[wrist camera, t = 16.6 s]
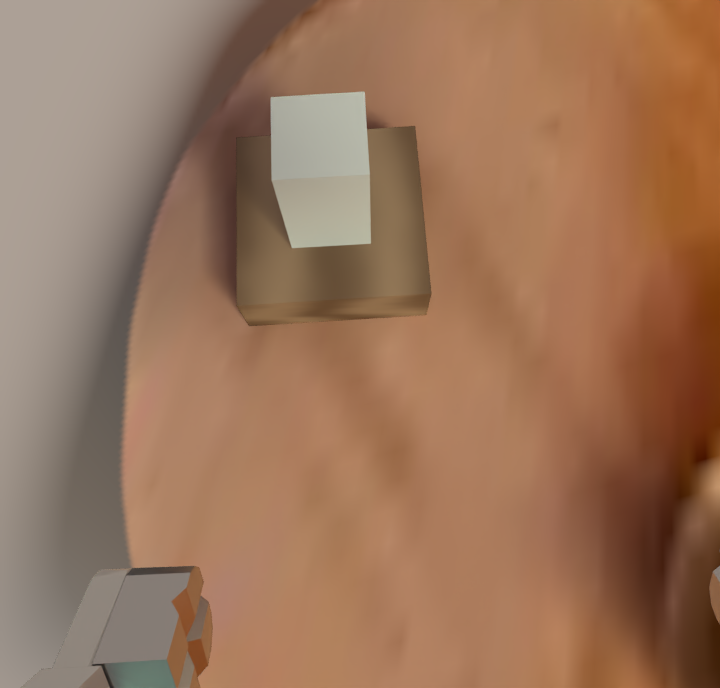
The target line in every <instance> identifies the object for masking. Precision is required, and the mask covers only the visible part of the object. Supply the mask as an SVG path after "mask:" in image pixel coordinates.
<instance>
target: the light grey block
mask: <svg viewBox="0 0 720 688" xmlns="http://www.w3.org/2000/svg"><path fill="white" fill-rule="evenodd" d="M271 175H272V183H273V187H274V190H275V193H276V197H277V200H278V203H279V207H280V210H281V213H282V217H283V220H284V223H285V227H286V230H287V233H288V237H289V240H290V244H291V247H292V248H304V247H321V246H339V245H356V244H371V218H370V170H369V154H368V138H367V122H366V106H365V92H350V93H333V94H316V95H299V96H282V97H271Z"/></svg>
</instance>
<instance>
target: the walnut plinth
mask: <svg viewBox="0 0 720 688" xmlns="http://www.w3.org/2000/svg"><path fill="white" fill-rule="evenodd" d="M367 138H368V154H369V170H370V218H371V244H356V245H339V246H321V247H304V248H292V247H291V244H290V240H289V237H288V233H287V230H286V227H285V223H284V220H283V217H282V213H281V210H280V207H279V203H278V200H277V197H276V193H275V190H274V187H273V183H272V175H271V135H270V136H254V137H239V138H236V209H237V307H238V309H239V310H240V312H241V314H242V315H243V317H244V318H245V320H246V322H247V323H248V325H249V326H257V325H273V324H289V323H305V322H321V321H337V320H353V319H369V318H385V317H401V316H417V315H426V314H427V310H428V305H429V301H430V297H431V285H430V274H429V264H428V254H427V243H426V233H425V223H424V213H423V202H422V192H421V182H420V171H419V161H418V151H417V140H416V130H415V126H409V127H393V128H378V129H367Z"/></svg>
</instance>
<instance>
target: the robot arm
mask: <svg viewBox="0 0 720 688" xmlns="http://www.w3.org/2000/svg"><path fill="white" fill-rule="evenodd" d="M719 552H720V550H719ZM203 583H204V581H203V578H202V575H201V571H200V568H199V567H196V566H182V567H153V568H132V569H112V570H99V571H98V573H96V575H95V576H94V577H93V578H92V579H91V581H90V583H89V585H88V588H87V590H86V592H85V594H84V597H83V599H82V601H81V603H80V606H79V608H78V610H77V612H76V615H75V617H74V619H73V621H72V624H71V626H70V628H69V631H68V633H67V635H66V637H65V640H64V642H63V644H62V646H61V649H60V651H59V653H58V655H57V658H56V660H55V662H54V665H53V667H52V668H48V669H41V670H40V671H39V672H38V673H37V674H35V675H34V676H33V677H32V678H31V679H30V680H29V681H28V682H26V683H25V684H24V685H23V686H22V687H21V688H200V684H199V681H198V676H199V675H200V674H201V673H202V672H203V671H204V670H205V669H206V667H207V666H208V663H209V658H210V653H211V647H212V630H213V625H212V614H211V609H210V605H209V602H208V601H207V600H206V599H204V598H203V597H202V596H201V592H202V587H203ZM709 591H710V599H711V606H712V608H713V611H714V613H715V616H716V619H717V621H718V622H719V624H720V566H719V567H718V568H716V569H715V570H714V571H713V573H712V577H711V581H710V585H709Z"/></svg>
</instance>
